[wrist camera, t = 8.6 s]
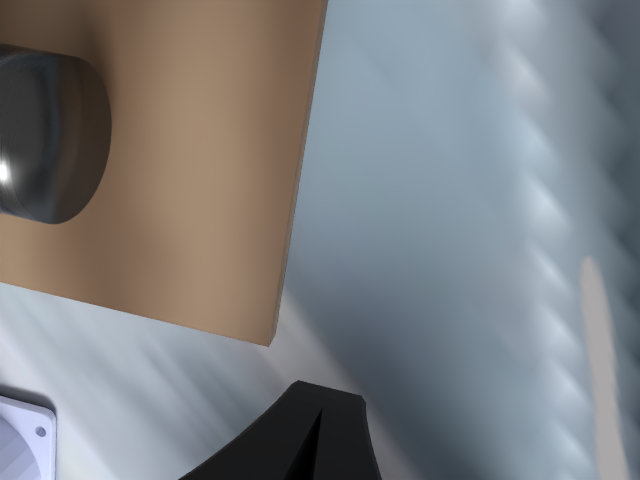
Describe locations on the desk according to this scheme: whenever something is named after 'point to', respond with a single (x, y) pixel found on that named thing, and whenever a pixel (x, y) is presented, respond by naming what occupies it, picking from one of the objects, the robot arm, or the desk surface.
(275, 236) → the base board
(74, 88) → the shaft
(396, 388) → the desk surface
